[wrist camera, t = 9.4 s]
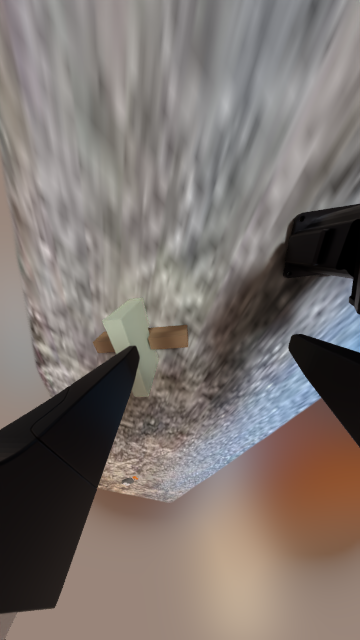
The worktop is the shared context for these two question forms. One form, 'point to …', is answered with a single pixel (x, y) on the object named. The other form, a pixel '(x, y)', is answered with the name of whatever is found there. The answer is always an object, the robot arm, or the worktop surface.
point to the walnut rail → (151, 339)
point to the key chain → (129, 480)
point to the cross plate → (134, 341)
